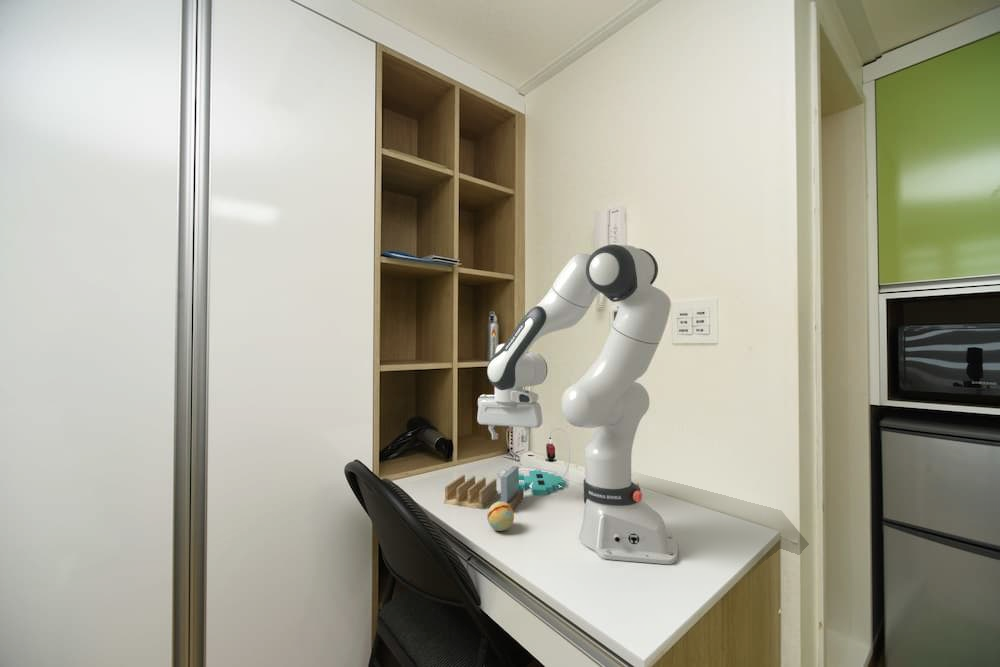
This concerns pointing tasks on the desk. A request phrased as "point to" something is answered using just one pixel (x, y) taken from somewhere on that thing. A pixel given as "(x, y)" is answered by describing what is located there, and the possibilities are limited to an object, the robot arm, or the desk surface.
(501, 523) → the ball
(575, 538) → the desk surface
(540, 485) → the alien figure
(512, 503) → the stand
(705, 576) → the desk surface
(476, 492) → the rack
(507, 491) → the plate
